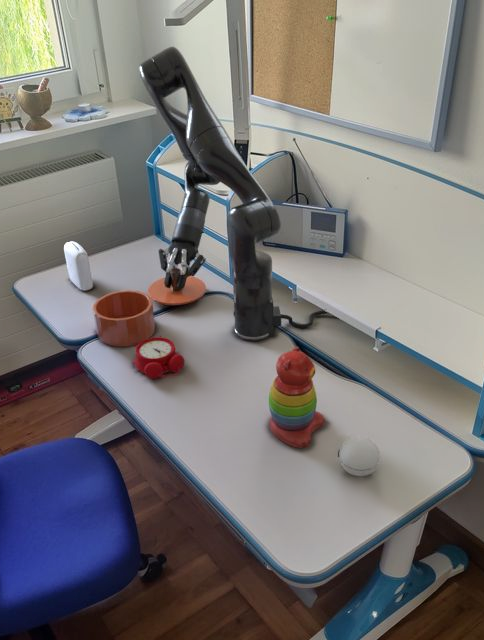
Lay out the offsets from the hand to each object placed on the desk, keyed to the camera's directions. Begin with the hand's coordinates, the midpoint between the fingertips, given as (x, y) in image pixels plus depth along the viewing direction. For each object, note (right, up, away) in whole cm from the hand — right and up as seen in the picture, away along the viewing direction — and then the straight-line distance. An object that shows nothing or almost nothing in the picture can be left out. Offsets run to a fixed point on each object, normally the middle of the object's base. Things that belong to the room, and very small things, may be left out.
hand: (173, 288), depth 176 cm
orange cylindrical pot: (-12, -12, -9) cm, 18 cm away
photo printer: (-27, +2, +14) cm, 31 cm away
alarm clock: (-2, -20, -22) cm, 30 cm away
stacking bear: (+27, -32, -43) cm, 60 cm away
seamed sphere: (+36, -40, -54) cm, 76 cm away
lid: (+1, 0, +3) cm, 3 cm away
